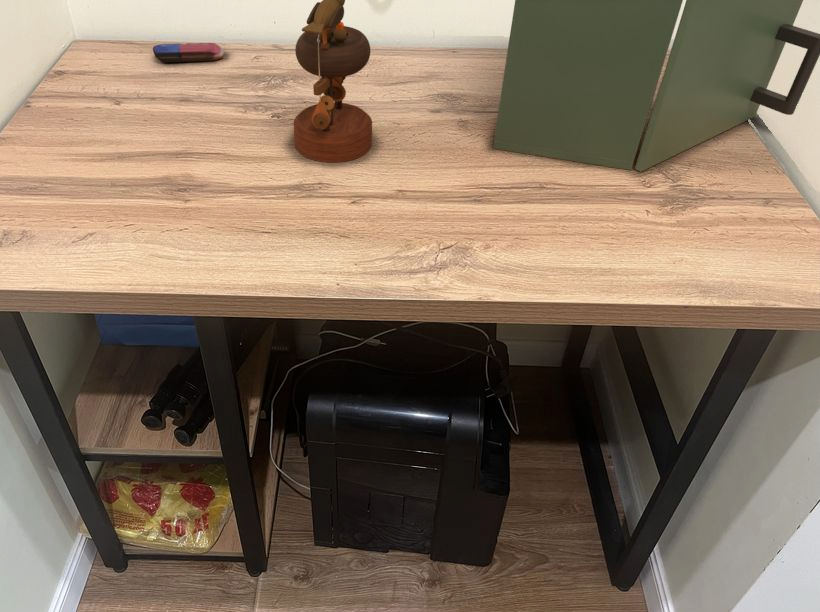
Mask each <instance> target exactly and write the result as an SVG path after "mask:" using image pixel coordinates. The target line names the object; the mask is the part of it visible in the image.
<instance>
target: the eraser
mask: <svg viewBox="0 0 820 612" xmlns="http://www.w3.org/2000/svg"><path fill="white" fill-rule="evenodd" d="M152 52H153V54H154V57H155V58H156V59H157V60H158V61H160V62H161V63H188V62H189V63H190V62H191V63H192V62H215V61H218V60H221V59H223V58H224V57H225V56H224V55H225V54H224V50H223V48H222V47H221V46H220V45H218V44H217V43H215V42H199V43H198V42H197V43H195V42H194V43H191V42H189V43H162V44H161V43H160V44H156V45H154V46H153V47H152Z"/></svg>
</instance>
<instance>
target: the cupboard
mask: <svg viewBox="0 0 820 612" xmlns="http://www.w3.org/2000/svg"><path fill="white" fill-rule="evenodd" d="M683 1H684V0H514V6H513V12H512V19H511V25H510V33H509V39H508V46H507V52H506V59H505V64H504V65H505V66H504V71H503V78H502V84H501V85H502V86H501V91H500V99H499V104H498V111H497V118H496V125H495V131H494V138H493V144H492V149H493V150H501V151H507V152H513V153H519V154H525V155H532V156H537V157H545V158H551V159H557V160H562V161H570V162H577V163H581V164H582V163H583V164H588V165H595V166H600V167H606V168H613V169H620V170H626V171H632V169H633V165H634V162H635V159H636V156H637V152H638V149H639V146H640V142H641V139H642V136H643V132H644V129H645V126H646V123H647V119H648V116H649V114H650V110H651V106H652V103H653V100H654V96H655V93H656V91H657V87H658V84H659V80H660V77H661V74H662V71H663V67H664V65H665V60H666V57H667V53H668V51H669V47H670V44H671V40H672V37H673V34H674V31H675V28H676V25H677V21H678V18H679V14H680V11H681V8H682V4H683Z"/></svg>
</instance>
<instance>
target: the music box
mask: <svg viewBox="0 0 820 612" xmlns="http://www.w3.org/2000/svg"><path fill="white" fill-rule="evenodd" d="M345 3H346V0H321V1H318V2H316V3H315V4H314V6H313V8H312V9H311V11H310V13H309V15H308V17H307V19H306V24H307V25H305V26H304V27H302V28H301V31H302V34H301V35H299V37H298V39H297V41H296V44H295V49H294V50H295V57H296V60H297V62H298V64H299V66H300V67H301V68H302V69H303V70H304V71H306V72H307V73H309V74H311V75H313V76H317V77H318V80H317V81H316V82H315V83H314V84H312V85H313V87H312V88H313V89H312V90H313V95H314V96H317V97H318V96H319V100H318V103H316V104H312V105H310V106H307V107H305V108H304V109H302V110H301V111H300V112H299V113H298V114H297V115H295V118H294V119H293V137H294V147H295V149H296V151H297V152H298V154H300V155H301V156H303V157H304V158H307V159H309V160H313V161H316V162H321V163H345V162H350V161H353V160H357V159H360V158H361V157H363V156H364V155H366V154H367V153H368V152H369V151H370V150H371V149H372V143H373V120H372V119H373V118H372V117H371V116H370V115H369V114H368V113H367V112H366V111H365V110H364V109H362V108H361V107H359V106H356V105H354V104H350V103H345V102H343V100H344V99H345V98H346V95H347V91H346V90H347V89H346V88H345V86H344V85H343V83H344V81H345V80H346V78H347V77H349V76H353V75H355V74H357V73H359V72H360V71H362V70H363V69H364V68H365V67H366V66H367V64H368V62H369V60H370V57H371V45H370V41H369V38H367V36H366V35H365V34H364V33H363V32H362V30H359V29H357V28H355V27H351V26H347V25H345V24H344V23H343V21H342V20H343V19H344V16H345V8H344V6H345Z"/></svg>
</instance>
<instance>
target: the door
mask: <svg viewBox="0 0 820 612" xmlns="http://www.w3.org/2000/svg"><path fill="white" fill-rule="evenodd" d="M803 2H804V0H685V3H684V7H683V10H682V13H681V16H680V20H679V23H678V27H677V29H676V33H675V36H674V40H673V43H672V46H671V50H670V52H669V55H668V59H667V62H666V65H665V69H664V72H663V74H662V78H661V81H660V85H659V88H658V92H657V94H656V99H655V101H654V104H653V108H652V110H651V114H650V117H649V120H648V124H647V126H646V130H645V133H644V137H643V139H642V143H641V146H640V150H639V152H638V156H637V159H636V163H635V166H634V170H636V171H638V172H640V173H641V172H643V171H645V170H647V169H649V168H652V167H654V166H656V165H658V164H660V163H662V162H664V161H666V160H668V159H670V158H672V157H675V156H677V155H678V154H681V153H683V152H685V151H687V150H690V149H691V148H693V147H696V146H697V145H699V144H701V143H704V142H705V141H707V140H710V139H712V138H714V137H716V136H719V135H720V134H722V133H724V132H726V131H729V130H730V129H733V128H734V127H737V126H739V125H741V124H743V123H745V122H747V121H749V120H751V119H754V118H755V117H756V116H757V113H758V110H759V108H760V106H761V107H765V108H767V109H770V110H773V111H775V112H778V113H781V114H783V115H787V116H792V115H794V113H795V112H796V109H797V107H796V106H798V105H797V104H799V103H800V100H801V98H802V95H803V94H802V93H804V91H805V90H806V87H807V85H808V82H809V80H810V78H811V76H812V73H813V71H814V69H815V67H816V65H817V62H818V61H819V59H820V33H818V32H815V31H811V30H808V29H806V28H803V27H798V26H795V25H794V23H795V21H796V19H797V17H798V14H799V11H800V9H801V8H802V4H803ZM786 44H790V45H793V46H796V47H799V48H803V49H806V52H805V54H804V56H803V59H802V61H801V63H800V65H799V68H798V70H797V72H796V74H795V77H794V79H793V81H792V84H791V86H790V89H789V91H788V93H787V95H784V94H781V93H779V92H776V91H774V90H770V89H768V87H769V85H770V82H771V80H772V77H773V74H774V72H775V69H776V67H777V65H778V62H779V60H780V57H781V56H782V53H783V50H784V48H785V46H786Z"/></svg>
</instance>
